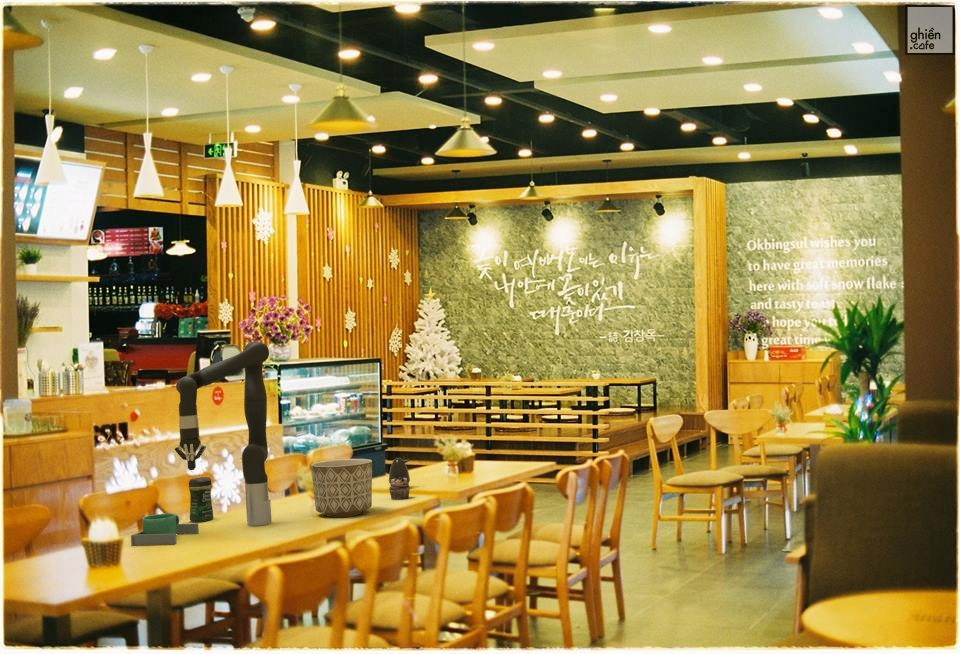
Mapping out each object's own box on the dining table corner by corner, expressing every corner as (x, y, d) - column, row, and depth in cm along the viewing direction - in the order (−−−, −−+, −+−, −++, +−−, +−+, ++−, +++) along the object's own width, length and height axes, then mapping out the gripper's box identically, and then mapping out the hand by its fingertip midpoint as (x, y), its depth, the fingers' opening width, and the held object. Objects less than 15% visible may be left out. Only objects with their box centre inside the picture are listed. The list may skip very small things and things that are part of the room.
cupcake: (414, 497, 528) (413, 475, 528) (402, 500, 520) (400, 478, 520) (397, 496, 533) (396, 475, 533) (385, 500, 525) (384, 478, 525)
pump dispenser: (409, 489, 554) (408, 458, 554) (388, 491, 554) (386, 459, 554) (411, 486, 564) (409, 456, 564) (390, 488, 565) (388, 457, 565)
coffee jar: (199, 523, 486) (197, 479, 486) (187, 522, 491) (184, 478, 491) (217, 519, 494) (214, 476, 494) (204, 518, 499) (202, 475, 499)
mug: (158, 544, 439) (157, 519, 439) (136, 542, 446) (135, 518, 446) (191, 536, 453) (190, 512, 453) (169, 535, 460) (168, 511, 460)
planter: (357, 506, 508) (354, 457, 508) (385, 513, 486) (382, 461, 486) (303, 514, 494) (300, 463, 494) (329, 521, 472) (327, 468, 472)
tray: (198, 533, 460) (198, 523, 460) (175, 544, 437) (174, 534, 437) (156, 534, 463) (156, 524, 463) (131, 545, 439) (130, 535, 439)
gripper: (208, 425, 465) (211, 468, 465) (176, 426, 466) (179, 469, 466) (201, 426, 457) (204, 470, 457) (169, 428, 459) (172, 472, 459)
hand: (191, 469), depth 462 cm, fingers closed
